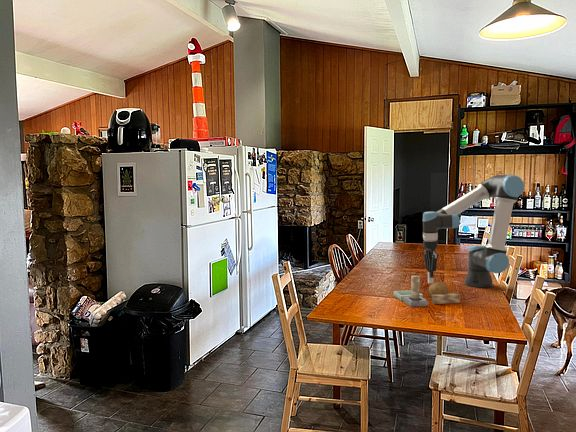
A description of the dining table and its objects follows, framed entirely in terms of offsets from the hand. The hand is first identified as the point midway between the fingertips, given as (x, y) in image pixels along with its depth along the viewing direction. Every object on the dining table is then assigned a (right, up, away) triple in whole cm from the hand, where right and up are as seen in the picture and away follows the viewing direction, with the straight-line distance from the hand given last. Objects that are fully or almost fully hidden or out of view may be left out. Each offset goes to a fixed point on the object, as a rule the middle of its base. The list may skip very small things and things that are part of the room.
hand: (430, 282), depth 248 cm
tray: (-15, -7, -8) cm, 18 cm away
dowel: (-14, -8, -19) cm, 24 cm away
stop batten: (+2, -7, -17) cm, 19 cm away
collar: (-14, -8, -19) cm, 24 cm away
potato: (+1, -7, -10) cm, 12 cm away
